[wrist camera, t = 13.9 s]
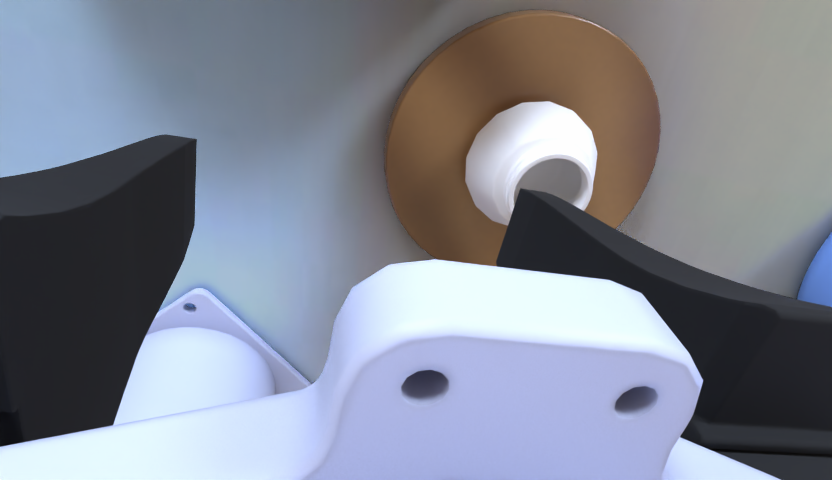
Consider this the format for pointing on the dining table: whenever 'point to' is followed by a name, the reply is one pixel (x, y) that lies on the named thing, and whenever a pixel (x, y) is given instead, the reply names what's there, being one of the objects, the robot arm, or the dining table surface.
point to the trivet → (505, 88)
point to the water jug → (819, 277)
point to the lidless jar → (531, 158)
